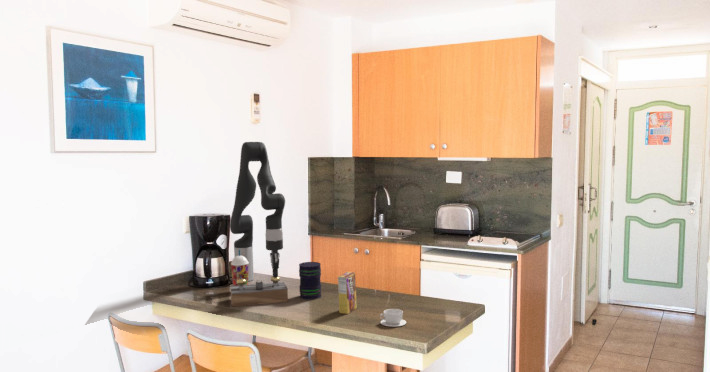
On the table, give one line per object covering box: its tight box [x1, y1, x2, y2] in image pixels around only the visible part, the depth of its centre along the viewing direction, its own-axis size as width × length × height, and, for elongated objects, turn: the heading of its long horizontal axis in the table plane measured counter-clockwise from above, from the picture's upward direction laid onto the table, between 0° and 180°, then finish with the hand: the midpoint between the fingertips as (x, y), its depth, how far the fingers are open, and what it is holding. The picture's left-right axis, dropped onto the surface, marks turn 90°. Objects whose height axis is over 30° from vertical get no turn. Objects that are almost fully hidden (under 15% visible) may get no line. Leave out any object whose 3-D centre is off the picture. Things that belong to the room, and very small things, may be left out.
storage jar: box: [298, 261, 322, 301], centre depth 258 cm, size 10×10×15 cm
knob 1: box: [237, 279, 246, 290], centre depth 252 cm, size 4×4×9 cm
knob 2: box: [270, 275, 281, 287], centre depth 256 cm, size 4×4×9 cm
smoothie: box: [230, 250, 249, 286], centre depth 269 cm, size 8×8×20 cm
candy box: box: [337, 271, 357, 315], centre depth 236 cm, size 9×4×15 cm, turn 156°
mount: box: [230, 281, 289, 307], centre depth 254 cm, size 12×24×6 cm, turn 104°
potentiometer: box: [255, 279, 263, 290], centre depth 250 cm, size 3×3×4 cm
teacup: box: [379, 308, 407, 328], centre depth 219 cm, size 10×10×5 cm
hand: (275, 277), depth 255 cm, fingers closed
